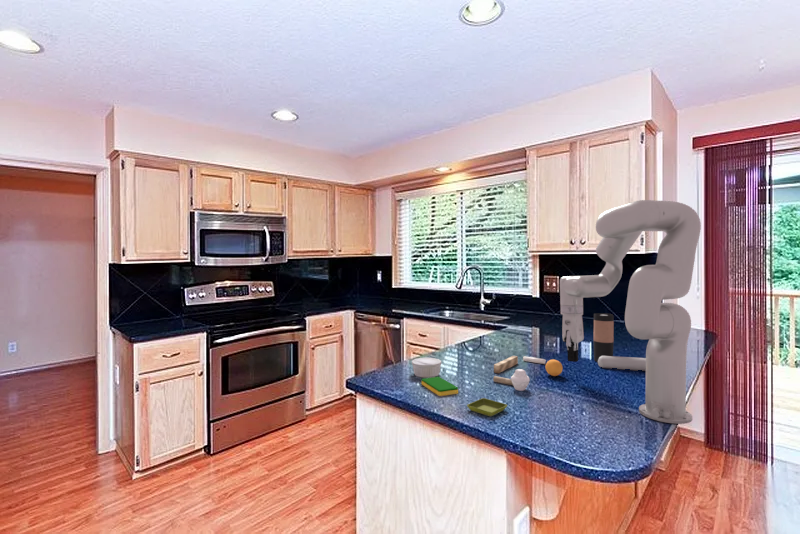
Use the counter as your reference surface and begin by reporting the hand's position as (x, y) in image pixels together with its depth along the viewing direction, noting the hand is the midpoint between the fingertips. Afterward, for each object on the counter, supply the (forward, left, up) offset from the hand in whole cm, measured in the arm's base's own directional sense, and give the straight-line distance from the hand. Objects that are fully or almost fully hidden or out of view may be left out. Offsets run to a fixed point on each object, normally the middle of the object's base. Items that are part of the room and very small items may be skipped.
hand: (572, 361), depth 149 cm
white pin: (+16, +16, -6) cm, 23 cm away
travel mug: (+36, -2, -7) cm, 36 cm away
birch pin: (-19, +13, -6) cm, 23 cm away
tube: (+29, -14, -7) cm, 33 cm away
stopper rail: (+1, +26, -7) cm, 27 cm away
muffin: (-21, +11, -7) cm, 25 cm away
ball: (+1, +7, -4) cm, 8 cm away
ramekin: (-26, +46, -7) cm, 53 cm away
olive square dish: (-45, +11, -8) cm, 47 cm away
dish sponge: (-37, +33, -8) cm, 50 cm away
